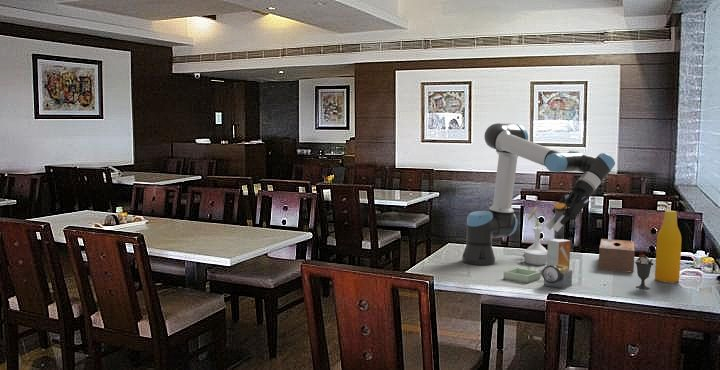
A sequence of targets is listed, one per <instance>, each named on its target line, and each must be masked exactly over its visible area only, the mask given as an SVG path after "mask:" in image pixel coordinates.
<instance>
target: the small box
mask: <svg viewBox="0 0 720 370" xmlns="http://www.w3.org/2000/svg"><path fill="white" fill-rule="evenodd" d="M571 243H572V242H571V240H569V239H566V238H565V239H555V238H552V239H548V240H547V263H546V266H549V265H561V266H567V267H569V268H570V260H571V259H570V258H571Z"/></svg>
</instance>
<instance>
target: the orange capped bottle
mask: <svg viewBox="0 0 720 370" xmlns="http://www.w3.org/2000/svg"><path fill="white" fill-rule="evenodd" d="M566 205H567V204H566V203H558V202H554V204H553V209H554V208H555V223H556V222H557V221H558V220H559V218H560V217H561V216H562V215H564V213H566V211H565V209H566ZM564 216H565V215H564ZM553 229H554V228H553ZM553 233H554V234H553V235H554V236H553V239H564V237H565V224H564V225H563V226H562V227H561V228H560V229H559V231H558V232H556V230H555V229H554V231H553Z"/></svg>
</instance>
